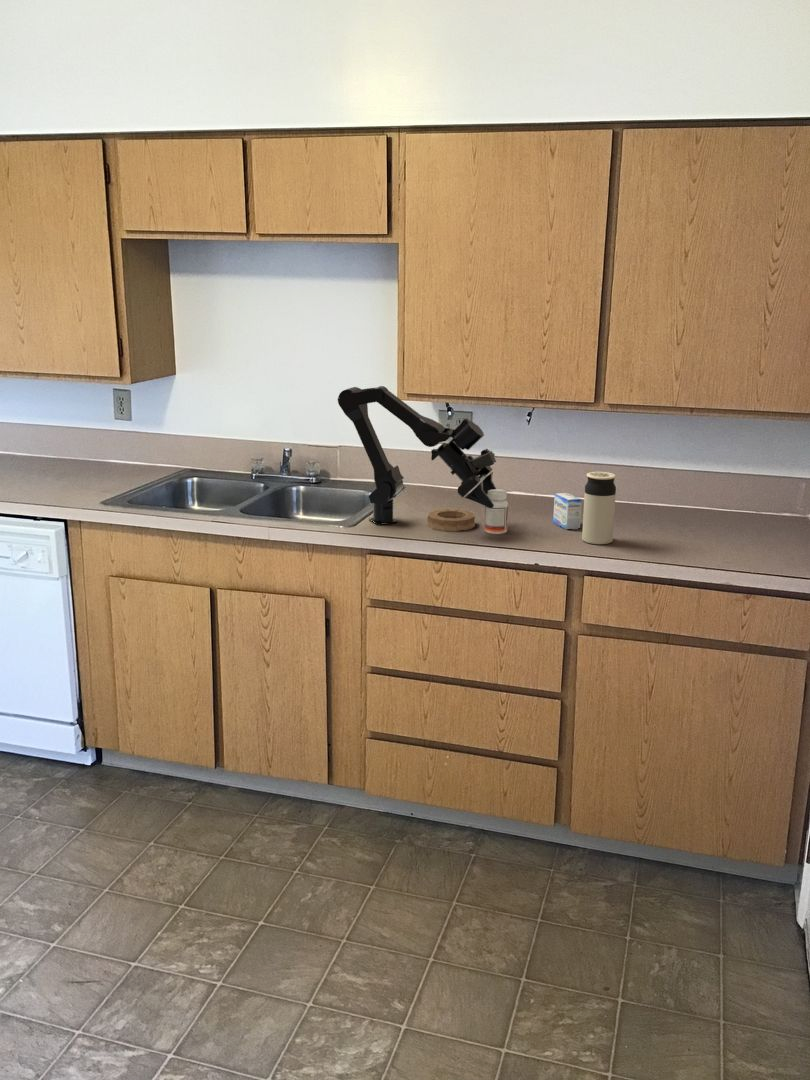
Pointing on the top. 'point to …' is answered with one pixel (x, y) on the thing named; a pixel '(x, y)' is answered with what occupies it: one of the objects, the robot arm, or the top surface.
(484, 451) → the robot arm
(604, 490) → the travel mug
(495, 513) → the pill bottle
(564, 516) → the medicine box
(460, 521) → the walnut ring
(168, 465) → the top surface
